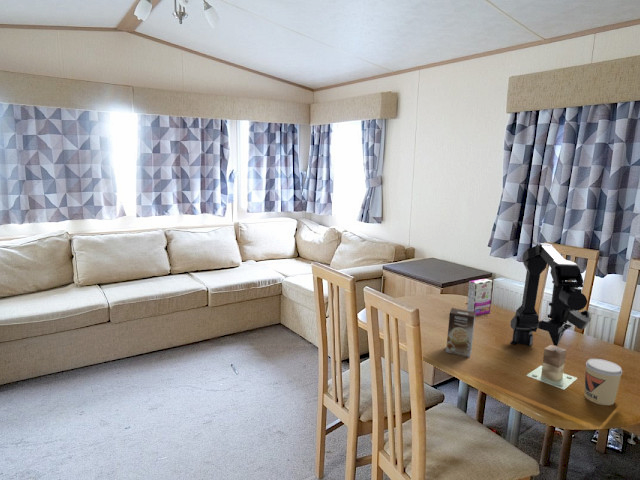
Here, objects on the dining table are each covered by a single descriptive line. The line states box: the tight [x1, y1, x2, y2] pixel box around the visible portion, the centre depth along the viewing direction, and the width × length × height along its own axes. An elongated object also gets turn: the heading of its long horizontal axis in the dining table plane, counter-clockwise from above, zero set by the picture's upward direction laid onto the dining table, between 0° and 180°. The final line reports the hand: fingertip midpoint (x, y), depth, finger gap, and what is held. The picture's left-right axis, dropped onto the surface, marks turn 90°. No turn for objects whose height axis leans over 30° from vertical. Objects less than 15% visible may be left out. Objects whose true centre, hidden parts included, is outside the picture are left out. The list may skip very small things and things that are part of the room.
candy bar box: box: [466, 278, 493, 317], centre depth 211 cm, size 11×5×16 cm, turn 117°
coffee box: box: [445, 307, 476, 358], centre depth 167 cm, size 9×6×16 cm
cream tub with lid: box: [583, 358, 623, 406], centre depth 134 cm, size 9×9×12 cm
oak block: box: [541, 362, 565, 382], centre depth 147 cm, size 5×5×5 cm
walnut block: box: [542, 344, 567, 368], centre depth 146 cm, size 5×5×5 cm
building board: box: [525, 365, 578, 390], centre depth 148 cm, size 12×12×1 cm
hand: (555, 345), depth 146 cm, fingers closed
